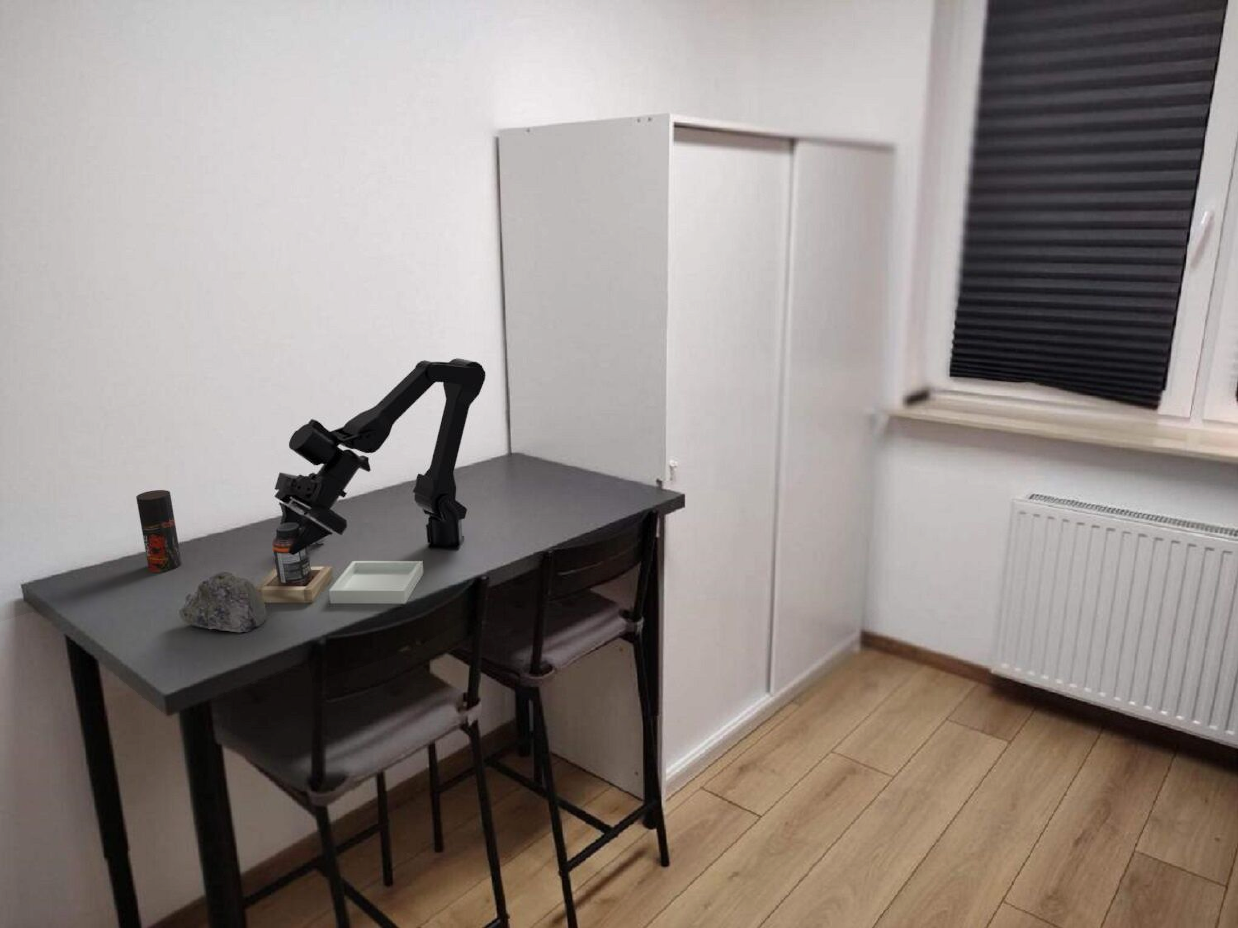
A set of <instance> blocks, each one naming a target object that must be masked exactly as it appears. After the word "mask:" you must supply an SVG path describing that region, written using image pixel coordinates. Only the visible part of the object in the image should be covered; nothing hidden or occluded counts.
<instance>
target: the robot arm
mask: <svg viewBox="0 0 1238 928" xmlns="http://www.w3.org/2000/svg"><path fill="white" fill-rule="evenodd" d="M485 381H486V371H485V369H484V367H483V366H482V364H481V363H479V362H477V361H474V360H473V361H472V360H468V359H464V358H459V357H457V358H453V359H451V360H449V361H430V360H421V361H419V362H417V364H415V367H414V368H413V369H412V370H411V372H409V373H408V374H407V375H406V376H405V377H404V378H403V379H402V380H401V381H400V382H399V383H398V384H396V386H395V387H393V389H392V390H390V391H389V393H388V394H386V395H385V396H384V397H383V398H382V399H381V400H380V401H379V402H378V403H377V404H376V405H374V406H373V407H371V408H368V409H367V410H364V411H362V412H360V413H358V414H357V415H355V416H353V418H352V419H350V420H348V421H347V422H346V423H345V424H344V425H343V426H342V427H339V428H335V429H334V430H331V431H330V430H329V429H327V428H326V427H324V425H323V424H322V423H321V422H319V421H318V420H316V419H314V418H311V419H309V420H310V421H308V423H306V424H304V425H302V426H300V427H299V428H298V429H297V430H295V431H294V432H293V433H292V435H291V437H290V438H289V439H290V440H289V441H288V447H289V449H290V450H291V451H293V452H295V453H296V454H297V455H299V456H300V457H302V459H305V460H306V461H307V462H309V463H310V464H312V465H313V466H320V465H322V466H321V467H320V469H319V470H318V472H317V473H316V472H311V473H309V474H308V475H303V474H298V475H294V474H291V473H285V472H279V473H278V476H277V479H276V483H275V486H274V490H276V491H277V492H276V494H275V495H274V498H276V499H278V500H279V502H278V505H279V506H280V509H281V513H282V514H281V521H280V523H279V525H281V524H284V523H297V524H299V528H300V531H299V533H298V534H297V536H296V538H295V540H294V541H293V543H292V545H291V547H290V549H289V551H288V552H289V553H290V554H291V555H295V554H296V553H298V552H300V551H301V550H303V549H305V548H306V547H309V546H311V545H313V544H314V543H315V542H316V541H318V540H320V539H322V538H324V537H328V536H332V535H333V534H334V533H333V532H335V533H336V534H338V535H340V536H342V535H343V534H344V533H345V531H346V530H347V529H348V522H347V519H345V518H343V517H342V516H341V515H339V514H337V513H336V512H335V511H334V510H333V507H334V505H335V503H336V502H337V500H338V499H339V498H340V497H342V498H345V497H346V495H347V494H348V493H347V492H346V491H345V489H346V487H347V486H348V485H349V484H350V482H351V481H352V479H353V478H354V476H355V474H356V473H357V472H358V471H359V470H360V469H361V470H363V471H365V472H368V473H369V472H371V470H372V469H371V465H370V462H369V461H370V460H369V459H370V458H369V457H368V456H366V455H358V454H357V453H356V452H355V451H352V450H356V451H360V452H361V453H364V454H373V453H374V454H375V452H377V451H378V450H380V448H382V446H383V444H384V443H385V442H386V441H387V440H388V438H389V436H390V434H391V431H392V428H393V426H394V424H395V423H396V422H397V420H399V418H401V417H402V416H403V415H404V414H405V413H406V412H407V410H409V409H410V408H411V407H413V405H414V404H415V403H416V402H417V401H418V400H419V399H420V398H421V397H422V396H423V395H424V394H425V393H426V392H427V391H428V390H429V389H430V388H431V387H432V386H434V384H436V383H443V384H442V386H443V391H444V395H445V396H444V397H445V404H444V408H443V412H442V417H441V420H440V423H439V428H438V431H437V432H438V433H437V436H436V442H435V444H434V445H435V446H434V450H433V454H432V457H431V458H432V459H431V462H430V466H429V468H428V469H427V471H425V473H424V474H421V473H418V474H417V475H416V481H415V482H416V483H415V487H414V488H413V490H412V493H413V494H414V502H415V503H416V504H417V506H418V507H419V508H421V510H422V512H423V513H424V514H425V515H428V516H429V517H428V520H427V521H428V522H427V523H426V525H425V529H426V542H427V543H428V546H427V549H428V550H458V549H460V548H461V545H462V544H463V542H464V541H465V536H464V535H463V528H462V527H463V525H462V520H464V519H466V515H467V512H468V508H467V507H466V506H464V505H462V504H461V502H459V501H458V500H456V498H457V484H456V479H455V468H456V464H457V460H458V457H459V456H458V455H459V451H460V447H461V444H462V443H461V442H462V439H463V434H464V430H465V426H466V422H467V418H468V414H469V410H470V407H471V405H472V404H473V403H474V401H475V400H476V399H477V397H478V396H479V395H480V393H481V390H482V389H483V385H484V383H485ZM339 446H342V447H344V448H347V449H343V450H342V448H340V447H339ZM280 501H281V502H280ZM307 514H309V516H311V517H310V518H308V517H306V516H304V515H307ZM331 530H332V531H331ZM276 537H277V534H276V536H275V538H276ZM315 544H316V543H315Z"/></svg>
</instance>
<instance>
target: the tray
mask: <svg viewBox="0 0 1238 928" xmlns="http://www.w3.org/2000/svg"><path fill="white" fill-rule="evenodd" d="M423 563H424V562H423V560H412V561H411V560H352V562H351V563H350V564H349V565H348V566H347V568H346V569H345V570H344V571H343V572H342V574H341V575H340V576H339V578H337V580H336V581H335V582H334V583H333V585H332V586H331V587H330V589H329V590H328V595H329V603H330V604H381V605H382V604H383V605H385V604H395V605H396V604H398V605H399V604H403V605H404V604H406V603H407V601H408V600H409V598H410V596H411V595H412V593H413V591H414V589H415V588H416V586H417V585H418V583H419V582H420V579H421V578H422V576H423V574H424V564H423Z"/></svg>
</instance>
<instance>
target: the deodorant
mask: <svg viewBox="0 0 1238 928" xmlns="http://www.w3.org/2000/svg"><path fill="white" fill-rule="evenodd" d="M135 498H136V499H135V500H136V504H137V509H138V510H137V511H138V515H139V522H140V527H141V532H142V538H143V545H144V549H145V555H146V556H145V557H146V562H147V567H148V568H147V569H148V571H150V572H153V573H162V572H169V571H172V570H175V569H178V568H179V567H181V565H182V558H181V551H180V546H179V545H180V544H179V539H178V533H177V528H176V527H177V526H176V520H175V515H174V509H173V503H172V495H171V492H170V490H166V489H157V490H149V491H148V490H147V491H145V492H141V493H139V494H137V495H136V497H135Z"/></svg>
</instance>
